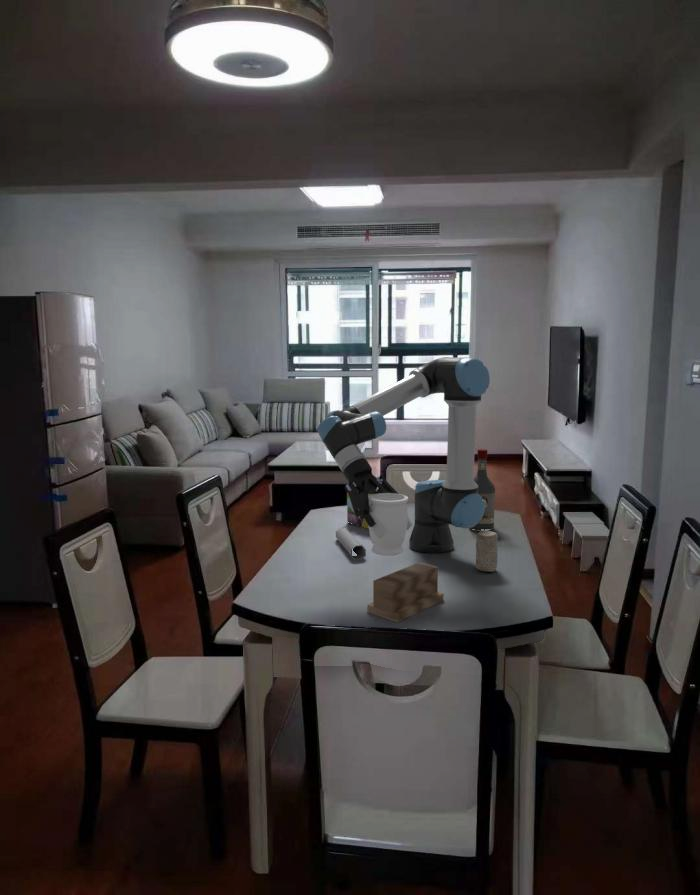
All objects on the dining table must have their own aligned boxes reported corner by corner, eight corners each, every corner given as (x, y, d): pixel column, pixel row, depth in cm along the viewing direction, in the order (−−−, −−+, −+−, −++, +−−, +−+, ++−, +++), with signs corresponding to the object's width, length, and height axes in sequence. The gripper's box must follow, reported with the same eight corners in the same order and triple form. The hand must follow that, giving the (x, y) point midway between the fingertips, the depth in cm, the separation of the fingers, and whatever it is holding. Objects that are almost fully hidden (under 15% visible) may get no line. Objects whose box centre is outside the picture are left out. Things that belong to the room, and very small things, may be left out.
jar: (397, 543, 185) (398, 491, 183) (413, 555, 176) (414, 499, 173) (362, 547, 182) (362, 493, 180) (375, 559, 172) (376, 502, 170)
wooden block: (413, 591, 188) (414, 560, 186) (443, 600, 181) (444, 568, 180) (367, 612, 173) (367, 578, 172) (397, 622, 166) (398, 588, 165)
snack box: (346, 523, 260) (345, 485, 258) (356, 521, 264) (356, 483, 262) (384, 534, 245) (384, 494, 243) (395, 531, 249) (395, 492, 246)
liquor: (466, 524, 258) (468, 448, 253) (490, 525, 257) (492, 448, 253) (470, 531, 249) (471, 451, 244) (494, 531, 248) (497, 451, 244)
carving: (500, 569, 206) (501, 531, 204) (491, 575, 200) (492, 537, 198) (481, 565, 210) (482, 528, 208) (471, 572, 204) (472, 534, 202)
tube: (331, 529, 238) (348, 548, 214) (345, 523, 239) (363, 542, 215) (336, 542, 240) (353, 563, 215) (350, 536, 240) (368, 557, 216)
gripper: (374, 468, 194) (415, 530, 186) (316, 479, 178) (358, 548, 170) (388, 452, 190) (430, 515, 182) (330, 462, 174) (374, 532, 165)
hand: (396, 531), depth 176 cm, fingers closed on jar, 10 cm apart
